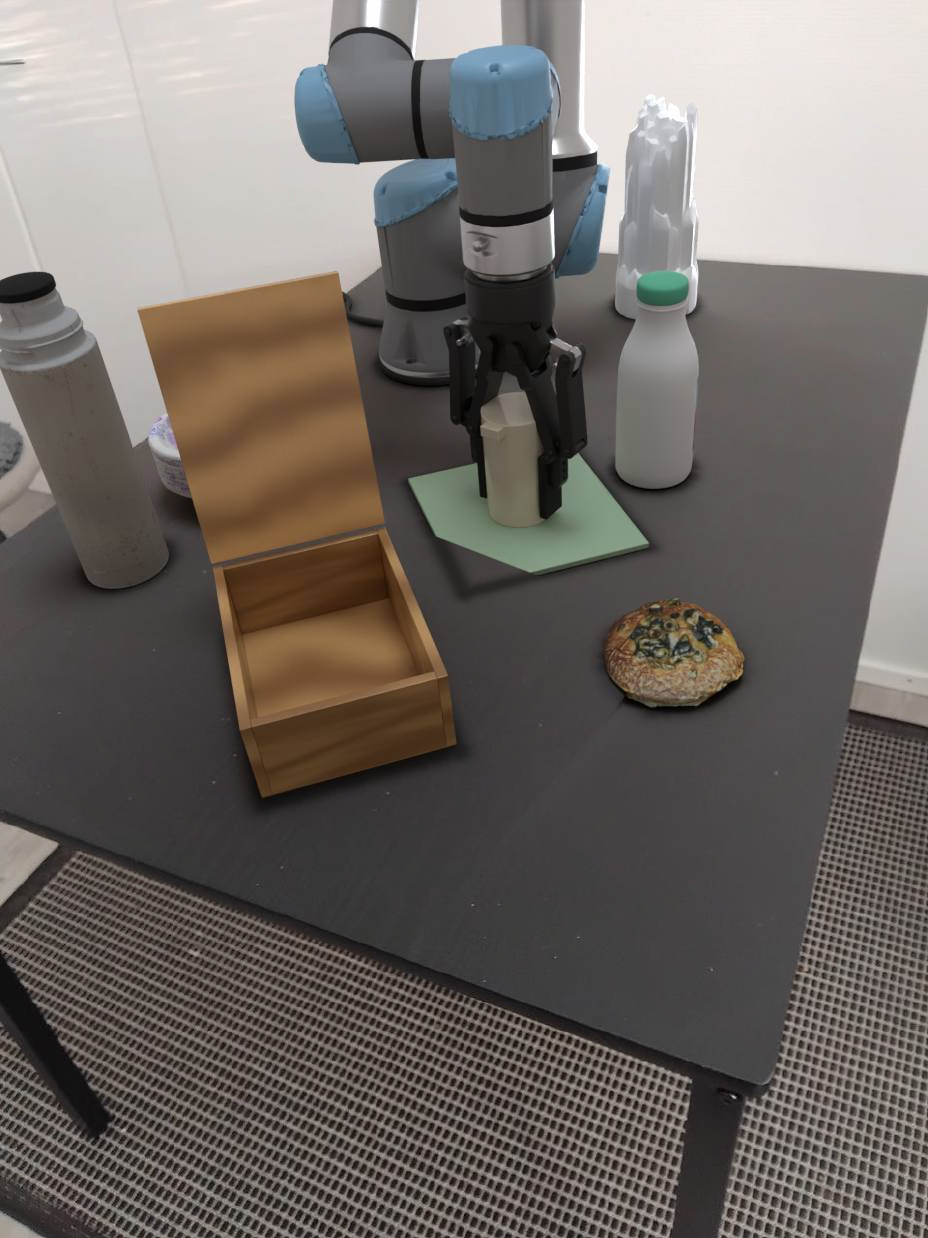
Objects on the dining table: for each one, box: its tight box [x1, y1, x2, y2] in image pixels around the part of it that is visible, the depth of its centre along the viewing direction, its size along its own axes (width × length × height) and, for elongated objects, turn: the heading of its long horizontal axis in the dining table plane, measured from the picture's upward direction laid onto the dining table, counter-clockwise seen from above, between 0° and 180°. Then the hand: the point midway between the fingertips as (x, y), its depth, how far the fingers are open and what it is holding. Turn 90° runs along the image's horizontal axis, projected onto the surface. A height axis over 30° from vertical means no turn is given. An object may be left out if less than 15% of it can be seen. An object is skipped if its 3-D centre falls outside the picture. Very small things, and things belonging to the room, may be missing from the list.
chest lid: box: [137, 270, 386, 565], centre depth 78 cm, size 20×15×5 cm
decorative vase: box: [614, 93, 699, 320], centre depth 124 cm, size 11×11×25 cm
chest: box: [212, 526, 457, 799], centre depth 77 cm, size 20×15×8 cm
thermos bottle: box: [0, 271, 170, 590], centre depth 86 cm, size 8×8×28 cm
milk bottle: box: [614, 271, 700, 490], centre depth 94 cm, size 8×8×20 cm
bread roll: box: [603, 597, 746, 708], centre depth 77 cm, size 11×11×5 cm
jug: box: [480, 391, 546, 528], centre depth 93 cm, size 9×6×11 cm
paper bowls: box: [147, 411, 192, 499], centre depth 102 cm, size 15×15×8 cm
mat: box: [407, 453, 650, 576], centre depth 96 cm, size 20×18×1 cm
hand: (520, 500), depth 95 cm, fingers closed on jug, 6 cm apart
